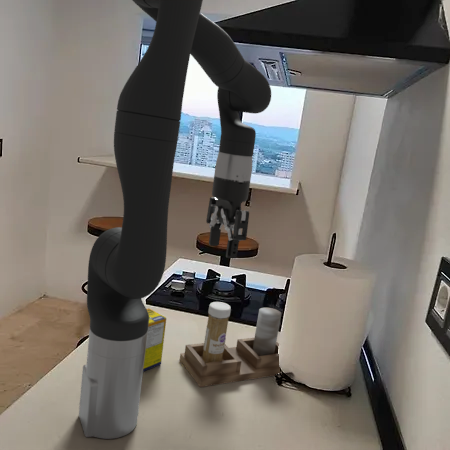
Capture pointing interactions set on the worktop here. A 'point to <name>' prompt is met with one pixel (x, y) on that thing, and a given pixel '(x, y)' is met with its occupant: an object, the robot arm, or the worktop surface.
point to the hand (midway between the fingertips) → (222, 251)
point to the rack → (239, 355)
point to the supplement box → (154, 340)
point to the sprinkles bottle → (216, 332)
